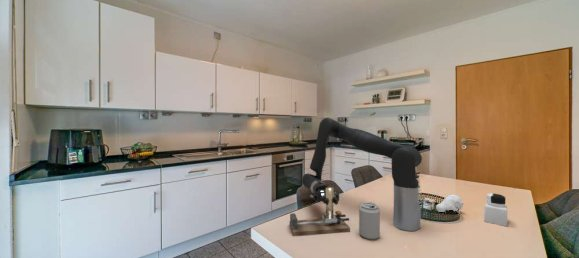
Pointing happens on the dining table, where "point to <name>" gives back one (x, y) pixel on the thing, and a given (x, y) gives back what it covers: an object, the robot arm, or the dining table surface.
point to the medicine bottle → (495, 209)
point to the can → (369, 220)
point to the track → (317, 226)
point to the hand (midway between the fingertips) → (331, 202)
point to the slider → (331, 208)
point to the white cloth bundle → (450, 203)
